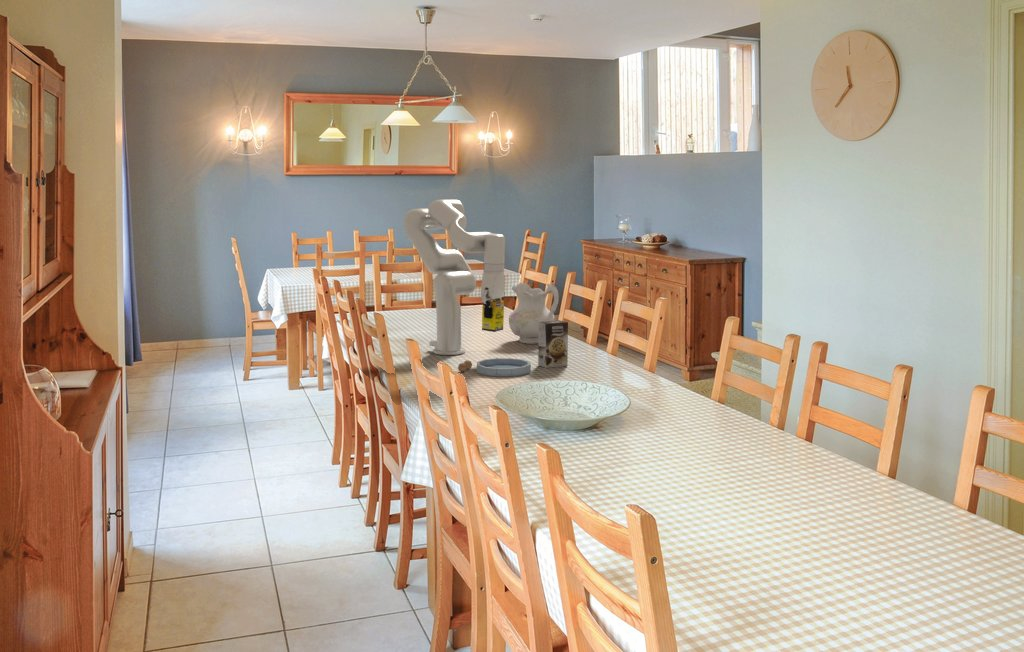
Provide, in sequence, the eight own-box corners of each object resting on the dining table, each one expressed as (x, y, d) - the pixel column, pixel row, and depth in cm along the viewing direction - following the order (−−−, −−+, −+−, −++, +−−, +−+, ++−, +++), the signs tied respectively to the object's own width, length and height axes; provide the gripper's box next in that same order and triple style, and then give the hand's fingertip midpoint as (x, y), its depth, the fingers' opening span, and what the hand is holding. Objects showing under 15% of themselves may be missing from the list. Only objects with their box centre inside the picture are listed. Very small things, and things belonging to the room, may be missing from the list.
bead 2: (461, 369, 322) (461, 360, 322) (466, 367, 325) (466, 359, 325) (469, 370, 321) (469, 361, 320) (473, 368, 324) (473, 359, 323)
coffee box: (546, 368, 324) (546, 323, 322) (537, 365, 330) (537, 321, 327) (568, 366, 328) (568, 321, 326) (559, 362, 334) (559, 319, 331)
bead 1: (456, 372, 318) (456, 363, 317) (461, 370, 320) (461, 361, 320) (464, 373, 316) (464, 364, 316) (468, 371, 319) (468, 362, 318)
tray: (466, 373, 316) (466, 365, 315) (493, 363, 332) (493, 356, 332) (514, 378, 307) (514, 370, 306) (539, 368, 323) (540, 361, 323)
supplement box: (495, 332, 331) (495, 302, 329) (481, 330, 334) (482, 301, 332) (503, 329, 336) (504, 300, 334) (490, 328, 339) (490, 299, 337)
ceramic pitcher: (564, 341, 385) (566, 283, 383) (554, 346, 366) (555, 284, 364) (515, 339, 391) (516, 281, 389) (502, 343, 372) (503, 283, 370)
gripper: (496, 265, 340) (495, 312, 343) (472, 269, 325) (472, 319, 328) (514, 266, 336) (513, 314, 340) (491, 271, 321) (490, 321, 325)
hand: (492, 316), depth 334 cm, fingers closed on supplement box, 6 cm apart
